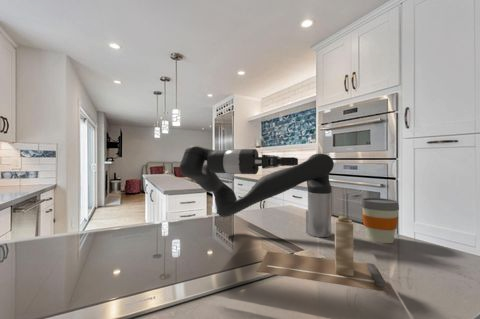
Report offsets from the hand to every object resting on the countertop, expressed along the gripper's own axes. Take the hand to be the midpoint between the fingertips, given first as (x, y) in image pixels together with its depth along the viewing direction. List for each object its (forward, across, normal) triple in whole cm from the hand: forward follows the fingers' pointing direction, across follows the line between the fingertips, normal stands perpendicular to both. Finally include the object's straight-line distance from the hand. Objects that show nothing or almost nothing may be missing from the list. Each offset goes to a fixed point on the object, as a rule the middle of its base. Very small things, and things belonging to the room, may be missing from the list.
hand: (296, 161), depth 64 cm
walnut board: (+5, 0, -30) cm, 30 cm away
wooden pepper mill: (+12, 0, -28) cm, 31 cm away
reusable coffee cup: (+28, -36, -30) cm, 55 cm away
